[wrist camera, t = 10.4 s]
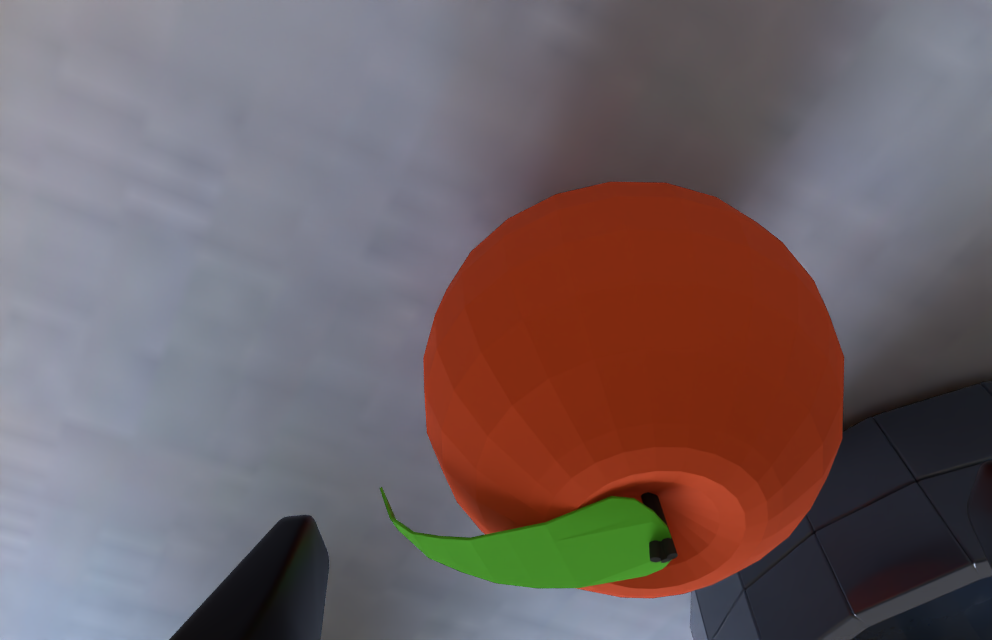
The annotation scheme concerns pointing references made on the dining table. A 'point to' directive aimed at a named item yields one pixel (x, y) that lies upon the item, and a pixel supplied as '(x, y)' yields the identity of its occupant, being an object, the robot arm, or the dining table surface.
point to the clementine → (629, 394)
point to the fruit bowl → (876, 540)
